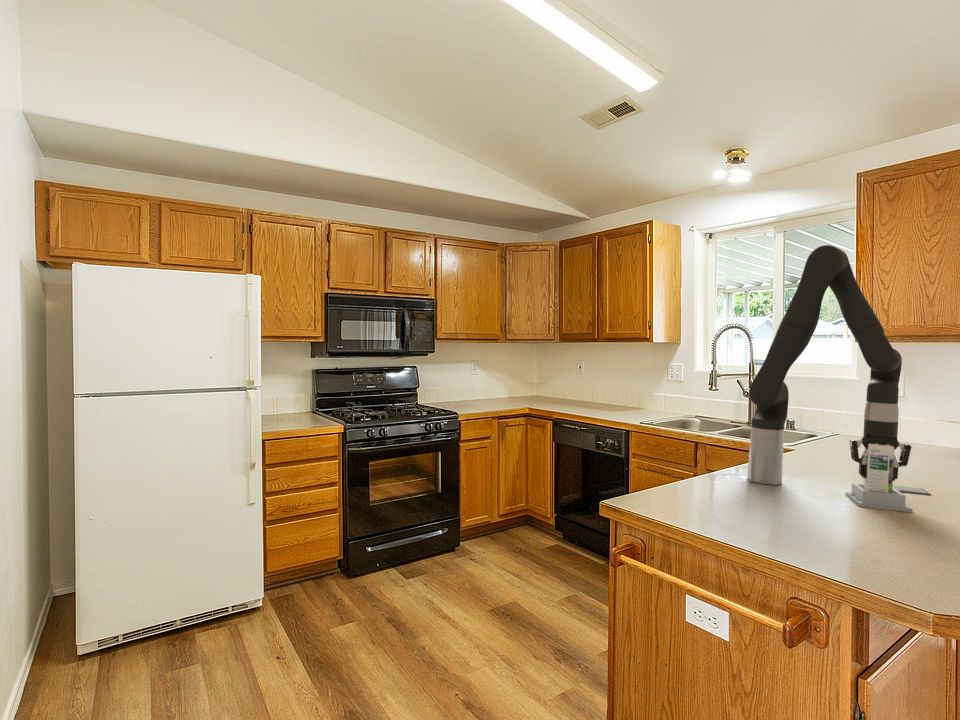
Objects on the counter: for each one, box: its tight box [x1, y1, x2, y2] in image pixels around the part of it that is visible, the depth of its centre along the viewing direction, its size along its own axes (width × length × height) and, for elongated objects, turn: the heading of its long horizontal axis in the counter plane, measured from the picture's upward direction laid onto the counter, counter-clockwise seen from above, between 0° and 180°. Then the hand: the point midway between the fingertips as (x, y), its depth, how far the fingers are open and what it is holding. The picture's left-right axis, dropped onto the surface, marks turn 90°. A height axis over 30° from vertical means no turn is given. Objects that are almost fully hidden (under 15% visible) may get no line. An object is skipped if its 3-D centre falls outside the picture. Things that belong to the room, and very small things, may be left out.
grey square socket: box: [845, 482, 913, 513], centre depth 147 cm, size 12×12×4 cm
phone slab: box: [892, 484, 932, 497], centre depth 163 cm, size 7×13×1 cm, turn 68°
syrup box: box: [862, 443, 895, 493], centre depth 147 cm, size 6×6×14 cm
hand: (877, 478), depth 147 cm, fingers closed on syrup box, 6 cm apart
